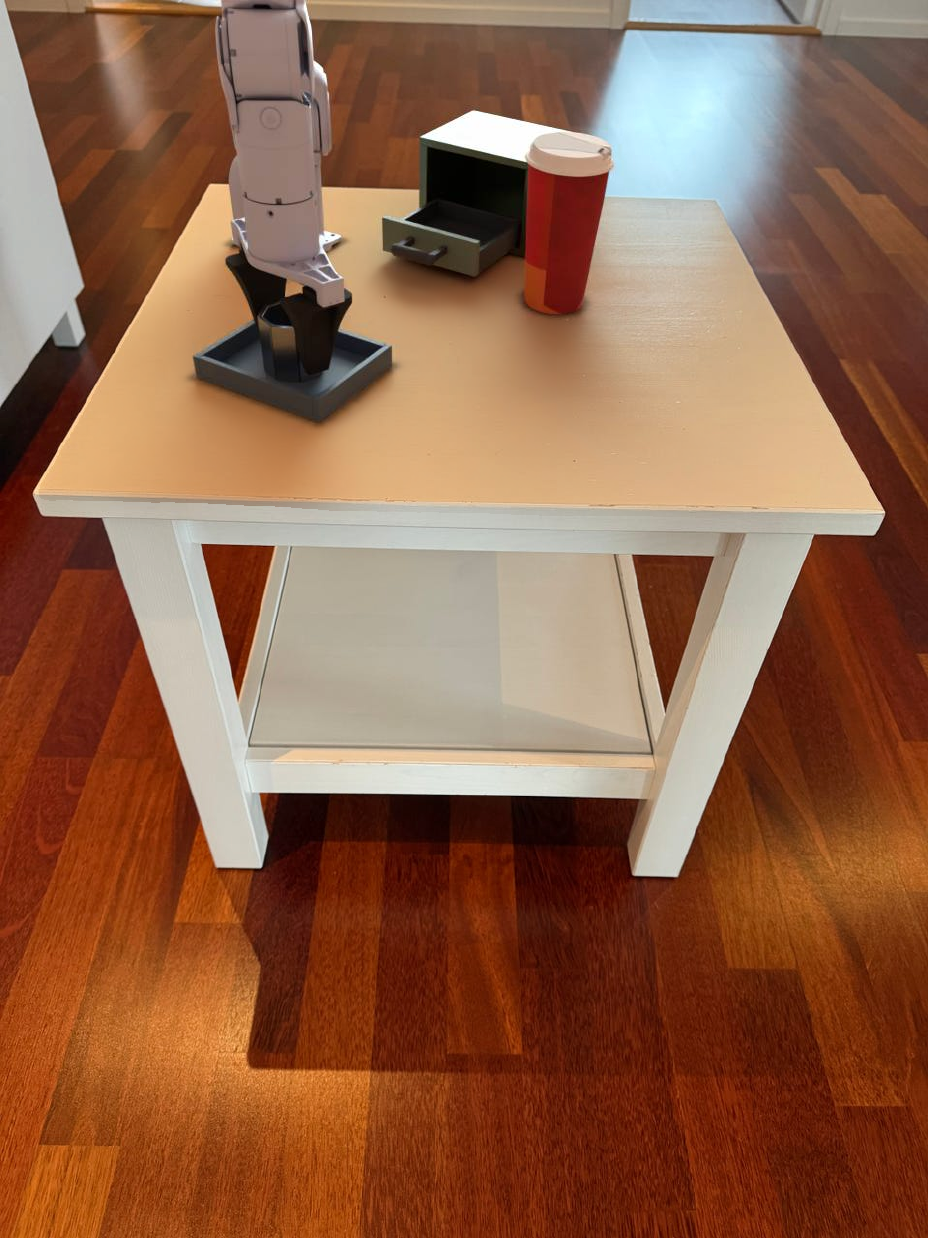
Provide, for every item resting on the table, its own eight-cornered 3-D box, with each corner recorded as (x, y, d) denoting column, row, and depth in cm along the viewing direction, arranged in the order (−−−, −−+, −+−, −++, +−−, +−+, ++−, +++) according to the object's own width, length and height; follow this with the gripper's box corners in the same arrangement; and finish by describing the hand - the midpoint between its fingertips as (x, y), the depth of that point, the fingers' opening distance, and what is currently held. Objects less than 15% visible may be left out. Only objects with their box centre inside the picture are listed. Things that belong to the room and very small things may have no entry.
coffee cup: (603, 294, 96) (628, 139, 85) (577, 326, 90) (599, 165, 80) (529, 276, 98) (544, 123, 88) (499, 307, 93) (511, 147, 82)
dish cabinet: (418, 228, 106) (419, 136, 99) (469, 197, 114) (473, 109, 107) (526, 257, 102) (535, 163, 95) (571, 223, 109) (582, 133, 102)
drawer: (363, 262, 97) (362, 228, 94) (435, 218, 106) (435, 186, 103) (457, 290, 93) (459, 255, 90) (522, 242, 102) (525, 209, 100)
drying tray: (196, 377, 80) (192, 355, 79) (275, 327, 88) (273, 306, 86) (319, 423, 76) (317, 400, 75) (392, 366, 83) (392, 345, 82)
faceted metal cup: (255, 362, 82) (248, 309, 78) (305, 346, 84) (301, 294, 81) (285, 387, 79) (279, 333, 75) (336, 370, 81) (333, 317, 78)
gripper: (374, 211, 69) (378, 374, 78) (276, 154, 77) (291, 308, 86) (293, 231, 66) (307, 398, 75) (199, 169, 73) (223, 328, 83)
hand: (294, 352), depth 80 cm, fingers open, 7 cm apart
